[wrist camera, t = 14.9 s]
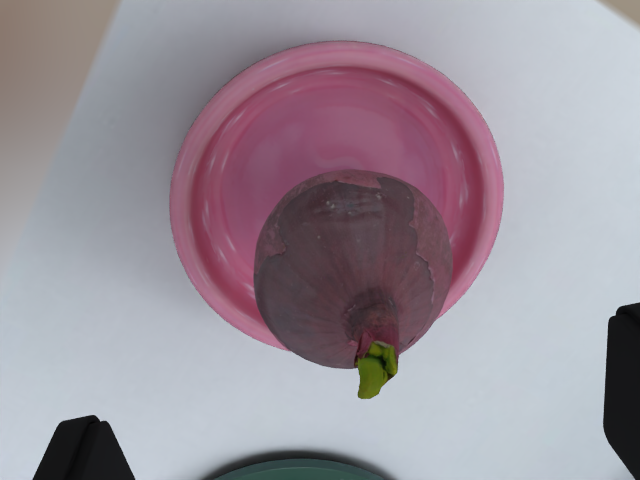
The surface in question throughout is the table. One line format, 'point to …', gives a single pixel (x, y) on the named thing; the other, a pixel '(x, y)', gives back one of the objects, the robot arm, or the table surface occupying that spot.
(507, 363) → the table surface
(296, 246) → the vegetable
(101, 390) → the table surface
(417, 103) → the saucer
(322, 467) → the pot lid
